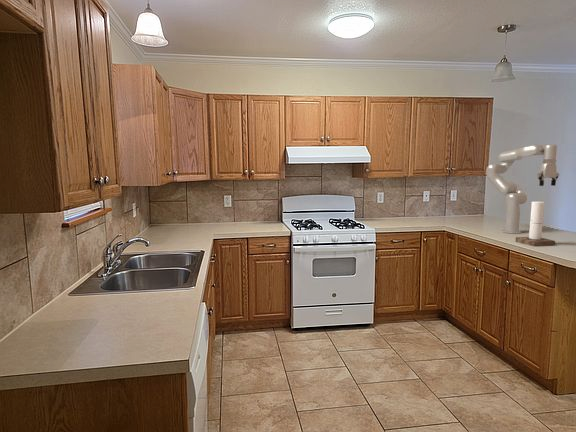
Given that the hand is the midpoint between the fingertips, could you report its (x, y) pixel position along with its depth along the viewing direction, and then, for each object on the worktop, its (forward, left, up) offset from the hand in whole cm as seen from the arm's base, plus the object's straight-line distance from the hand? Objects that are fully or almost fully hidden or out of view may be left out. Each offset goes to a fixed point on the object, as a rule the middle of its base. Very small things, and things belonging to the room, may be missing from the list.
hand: (547, 185), depth 271 cm
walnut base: (+18, -23, -38) cm, 48 cm away
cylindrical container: (+18, -23, -35) cm, 45 cm away
